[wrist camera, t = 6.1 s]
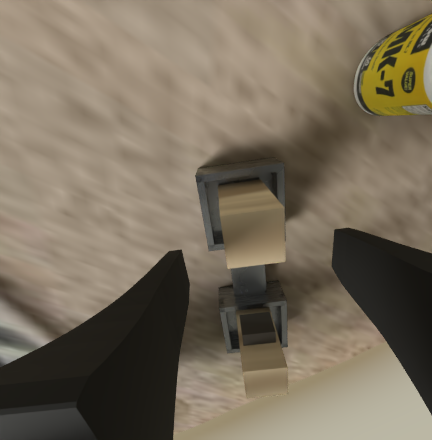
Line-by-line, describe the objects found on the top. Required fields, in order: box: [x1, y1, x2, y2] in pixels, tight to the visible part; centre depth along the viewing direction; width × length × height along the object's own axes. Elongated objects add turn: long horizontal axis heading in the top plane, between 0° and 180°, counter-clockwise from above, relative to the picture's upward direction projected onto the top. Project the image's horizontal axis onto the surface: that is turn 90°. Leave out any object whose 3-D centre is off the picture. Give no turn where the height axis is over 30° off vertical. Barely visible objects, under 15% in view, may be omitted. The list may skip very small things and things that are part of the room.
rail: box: [195, 157, 288, 353], centre depth 20 cm, size 18×6×3 cm, turn 8°
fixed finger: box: [236, 307, 288, 398], centre depth 19 cm, size 4×3×6 cm
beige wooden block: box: [218, 179, 285, 269], centre depth 15 cm, size 4×3×6 cm
